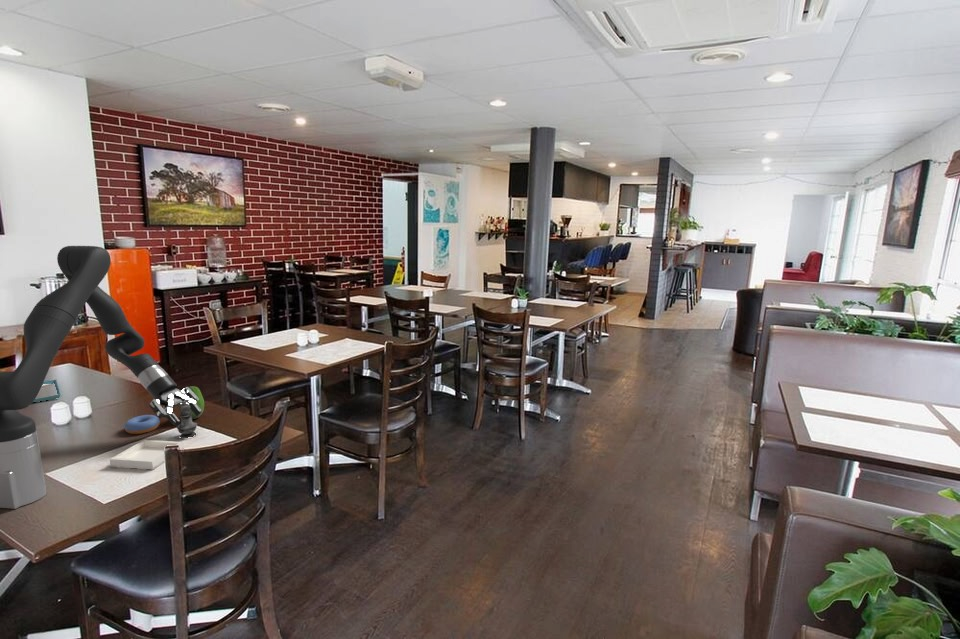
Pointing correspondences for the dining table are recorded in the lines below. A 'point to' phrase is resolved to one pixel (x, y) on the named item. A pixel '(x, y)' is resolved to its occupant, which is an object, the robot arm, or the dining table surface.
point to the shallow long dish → (49, 396)
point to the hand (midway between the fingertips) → (189, 418)
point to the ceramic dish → (143, 455)
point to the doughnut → (142, 424)
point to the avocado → (199, 402)
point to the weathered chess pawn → (186, 422)
